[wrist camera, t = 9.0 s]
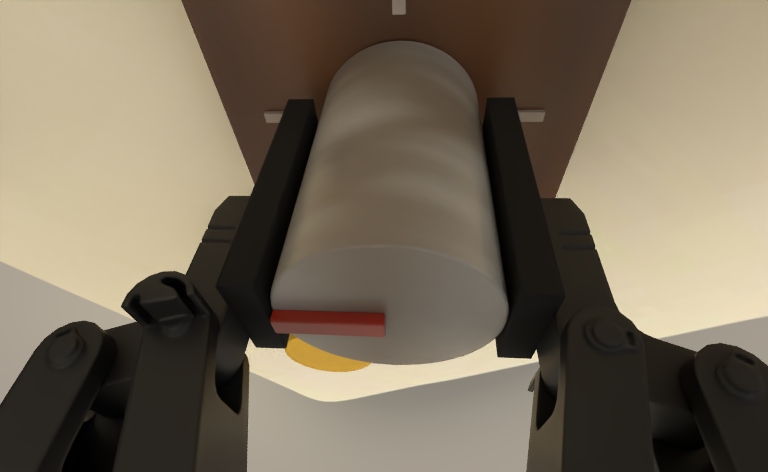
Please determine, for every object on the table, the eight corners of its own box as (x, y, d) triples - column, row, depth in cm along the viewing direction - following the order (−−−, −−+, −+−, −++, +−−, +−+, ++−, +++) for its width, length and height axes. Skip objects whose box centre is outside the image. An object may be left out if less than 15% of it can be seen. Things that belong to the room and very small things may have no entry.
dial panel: (627, -105, 11) (665, -78, 9) (536, 178, 18) (548, 221, 17) (193, -85, 12) (154, -57, 10) (279, 176, 19) (265, 217, 18)
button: (372, 305, 21) (369, 336, 20) (378, 345, 25) (376, 373, 23) (282, 302, 21) (274, 333, 20) (300, 342, 25) (295, 370, 24)
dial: (489, 37, 11) (539, 264, 6) (469, 173, 15) (490, 381, 10) (313, 41, 12) (229, 257, 7) (337, 172, 16) (295, 372, 11)
